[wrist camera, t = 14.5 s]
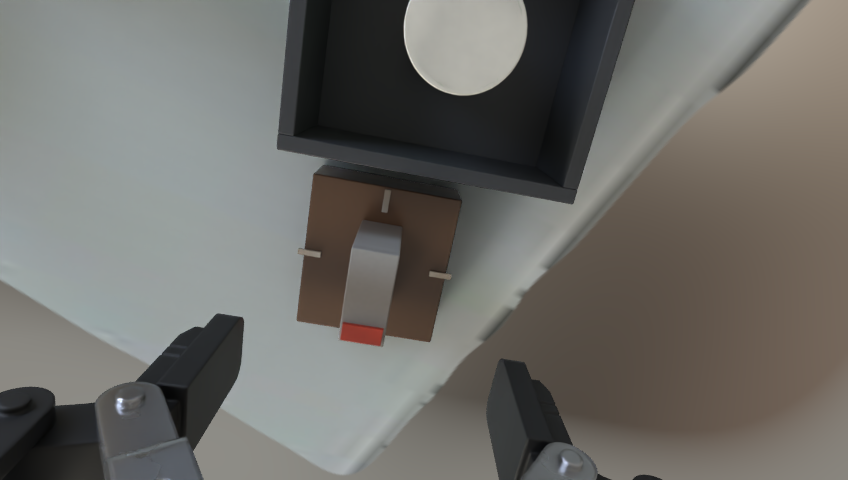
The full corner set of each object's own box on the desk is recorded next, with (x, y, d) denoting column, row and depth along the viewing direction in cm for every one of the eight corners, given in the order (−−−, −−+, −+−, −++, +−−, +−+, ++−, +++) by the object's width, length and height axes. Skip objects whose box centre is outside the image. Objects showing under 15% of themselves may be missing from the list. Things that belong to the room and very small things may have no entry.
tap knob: (362, 219, 29) (350, 248, 24) (402, 226, 29) (399, 257, 24) (349, 299, 30) (336, 342, 25) (388, 305, 31) (382, 349, 26)
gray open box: (332, -116, 26) (305, -179, 19) (606, -53, 27) (663, -93, 20) (305, 134, 30) (276, 149, 24) (542, 179, 31) (573, 204, 25)
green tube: (416, -3, 27) (416, -54, 16) (494, 14, 27) (542, -25, 17) (402, 80, 28) (393, 82, 18) (476, 95, 29) (510, 106, 18)
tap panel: (317, 163, 30) (306, 172, 27) (463, 190, 31) (468, 202, 28) (301, 300, 34) (290, 322, 31) (434, 321, 34) (435, 345, 31)
